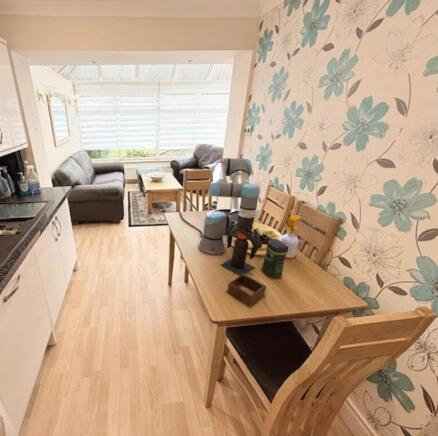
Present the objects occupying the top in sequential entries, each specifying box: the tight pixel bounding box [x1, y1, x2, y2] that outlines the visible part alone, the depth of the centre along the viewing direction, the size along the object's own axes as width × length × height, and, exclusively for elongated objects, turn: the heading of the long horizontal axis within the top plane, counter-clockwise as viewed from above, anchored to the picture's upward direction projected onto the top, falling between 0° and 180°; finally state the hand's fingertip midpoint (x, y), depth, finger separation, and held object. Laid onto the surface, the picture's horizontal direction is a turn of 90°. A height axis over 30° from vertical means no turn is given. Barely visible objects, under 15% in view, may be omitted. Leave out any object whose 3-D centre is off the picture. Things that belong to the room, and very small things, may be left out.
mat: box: [221, 258, 255, 276], centre depth 130 cm, size 12×12×1 cm
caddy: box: [226, 273, 267, 308], centre depth 109 cm, size 12×12×6 cm
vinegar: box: [231, 231, 250, 269], centre depth 125 cm, size 7×7×20 cm
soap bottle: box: [279, 214, 302, 259], centre depth 136 cm, size 9×9×25 cm
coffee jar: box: [261, 238, 288, 279], centre depth 121 cm, size 10×8×19 cm
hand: (239, 252), depth 126 cm, fingers open, 13 cm apart
